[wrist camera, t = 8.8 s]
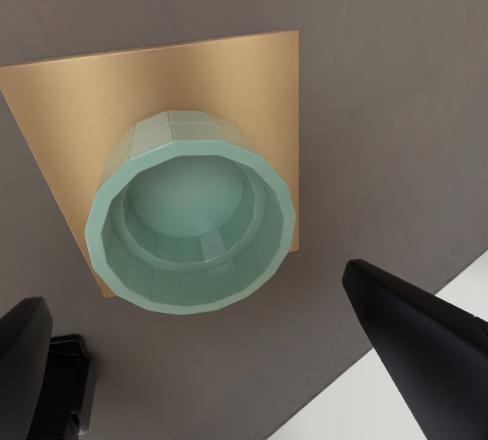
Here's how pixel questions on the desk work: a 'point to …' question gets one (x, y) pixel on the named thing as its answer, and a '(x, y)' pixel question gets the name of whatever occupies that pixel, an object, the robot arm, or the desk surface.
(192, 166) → the bowl
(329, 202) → the desk surface
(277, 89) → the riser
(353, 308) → the robot arm
